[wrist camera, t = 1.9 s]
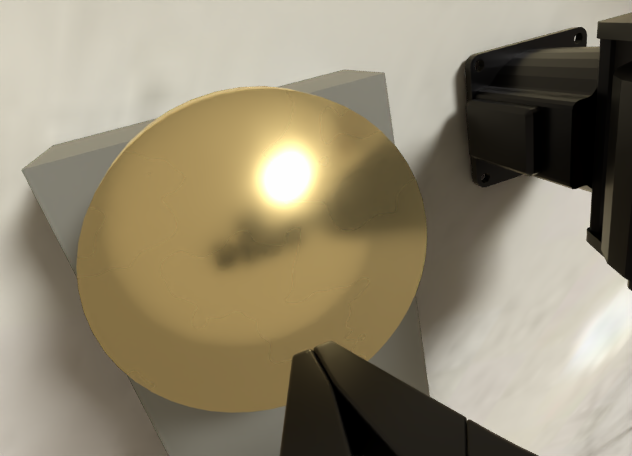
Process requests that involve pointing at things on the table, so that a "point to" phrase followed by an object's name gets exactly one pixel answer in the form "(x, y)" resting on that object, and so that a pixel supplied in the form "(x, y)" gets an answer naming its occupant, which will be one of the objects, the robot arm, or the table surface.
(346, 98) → the panel
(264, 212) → the knob
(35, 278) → the table surface
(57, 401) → the table surface
